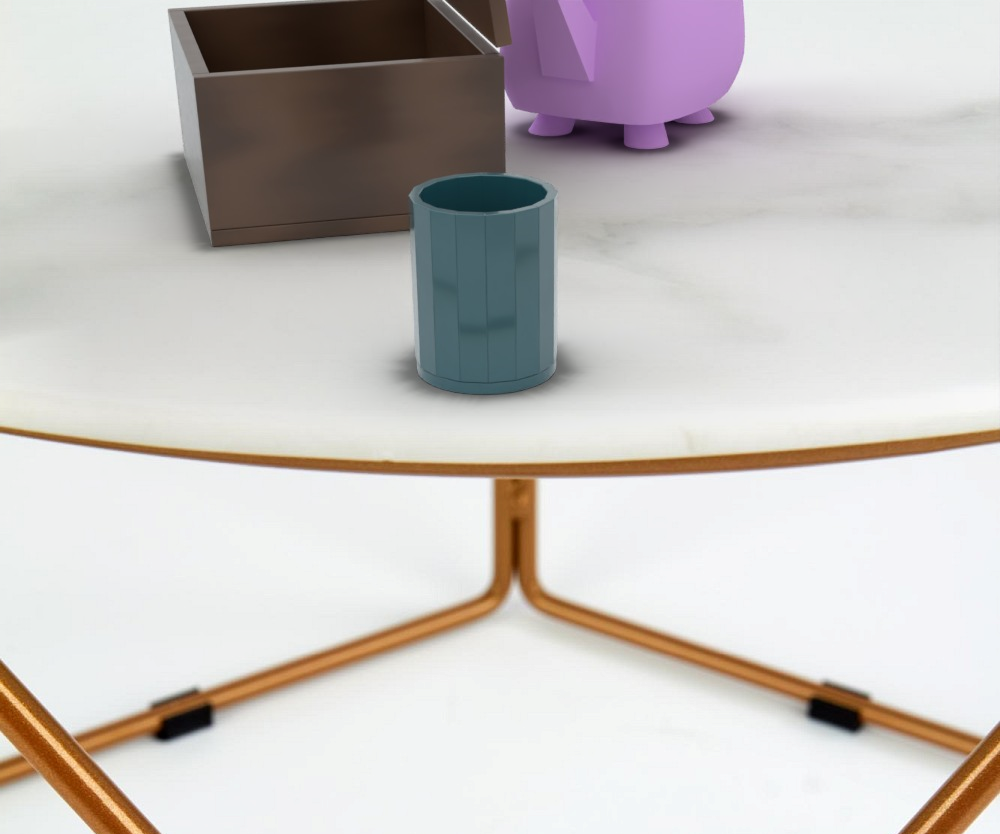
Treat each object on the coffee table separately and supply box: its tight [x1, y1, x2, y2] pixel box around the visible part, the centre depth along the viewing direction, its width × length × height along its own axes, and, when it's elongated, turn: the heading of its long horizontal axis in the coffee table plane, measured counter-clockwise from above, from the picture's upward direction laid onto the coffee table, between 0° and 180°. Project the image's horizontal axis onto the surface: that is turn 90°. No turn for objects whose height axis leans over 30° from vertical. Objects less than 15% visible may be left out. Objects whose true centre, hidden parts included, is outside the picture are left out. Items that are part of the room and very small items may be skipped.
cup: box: [408, 172, 559, 395], centre depth 67 cm, size 6×6×7 cm
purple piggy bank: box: [498, 0, 746, 150], centre depth 97 cm, size 20×12×13 cm, turn 150°
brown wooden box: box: [167, 0, 507, 248], centre depth 88 cm, size 15×17×8 cm
